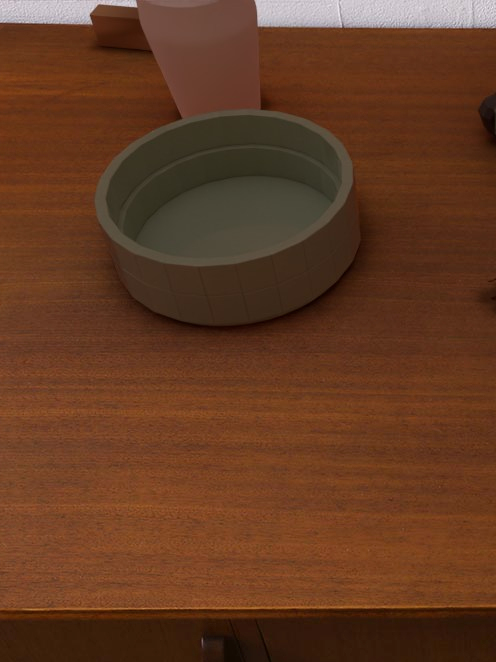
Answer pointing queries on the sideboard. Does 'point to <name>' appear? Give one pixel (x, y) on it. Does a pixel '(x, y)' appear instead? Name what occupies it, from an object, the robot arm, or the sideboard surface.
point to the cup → (205, 52)
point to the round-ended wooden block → (118, 27)
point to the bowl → (230, 216)
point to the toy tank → (489, 114)
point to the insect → (492, 281)
